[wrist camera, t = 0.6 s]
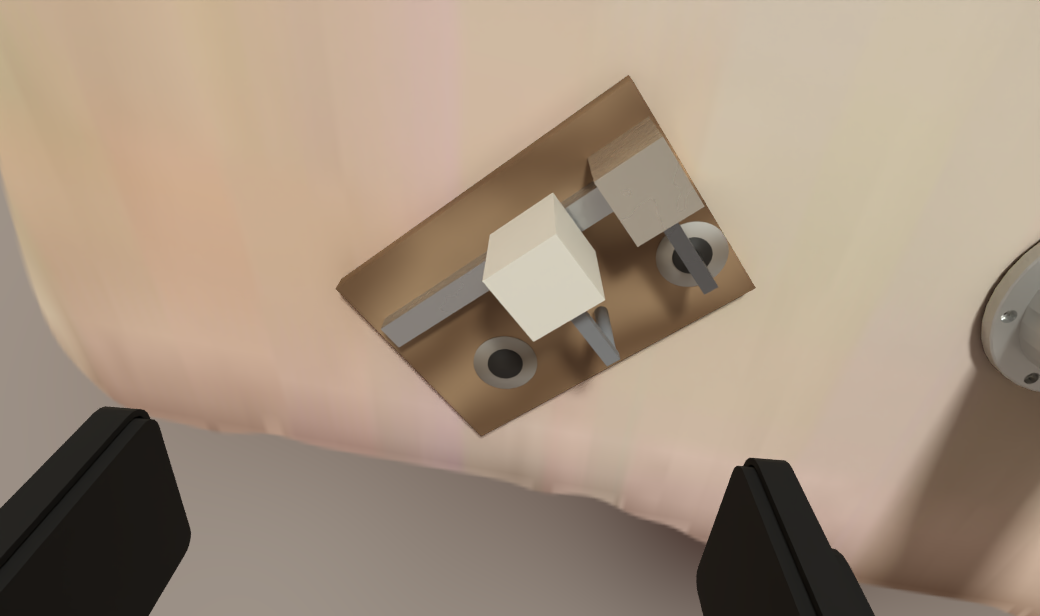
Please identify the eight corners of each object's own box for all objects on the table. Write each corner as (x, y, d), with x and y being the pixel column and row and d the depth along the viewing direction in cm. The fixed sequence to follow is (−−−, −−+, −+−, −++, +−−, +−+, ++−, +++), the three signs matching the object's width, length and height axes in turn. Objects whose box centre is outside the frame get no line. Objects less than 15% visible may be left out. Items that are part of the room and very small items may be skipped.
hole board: (749, 278, 35) (756, 289, 34) (482, 424, 42) (481, 437, 40) (628, 75, 30) (632, 80, 29) (341, 279, 36) (334, 290, 35)
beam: (724, 243, 33) (745, 274, 30) (459, 395, 39) (452, 435, 36) (648, 116, 30) (663, 136, 26) (371, 304, 36) (354, 339, 32)
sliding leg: (634, 299, 34) (653, 364, 29) (576, 333, 36) (583, 401, 30) (552, 185, 31) (555, 233, 26) (491, 226, 32) (482, 281, 27)
